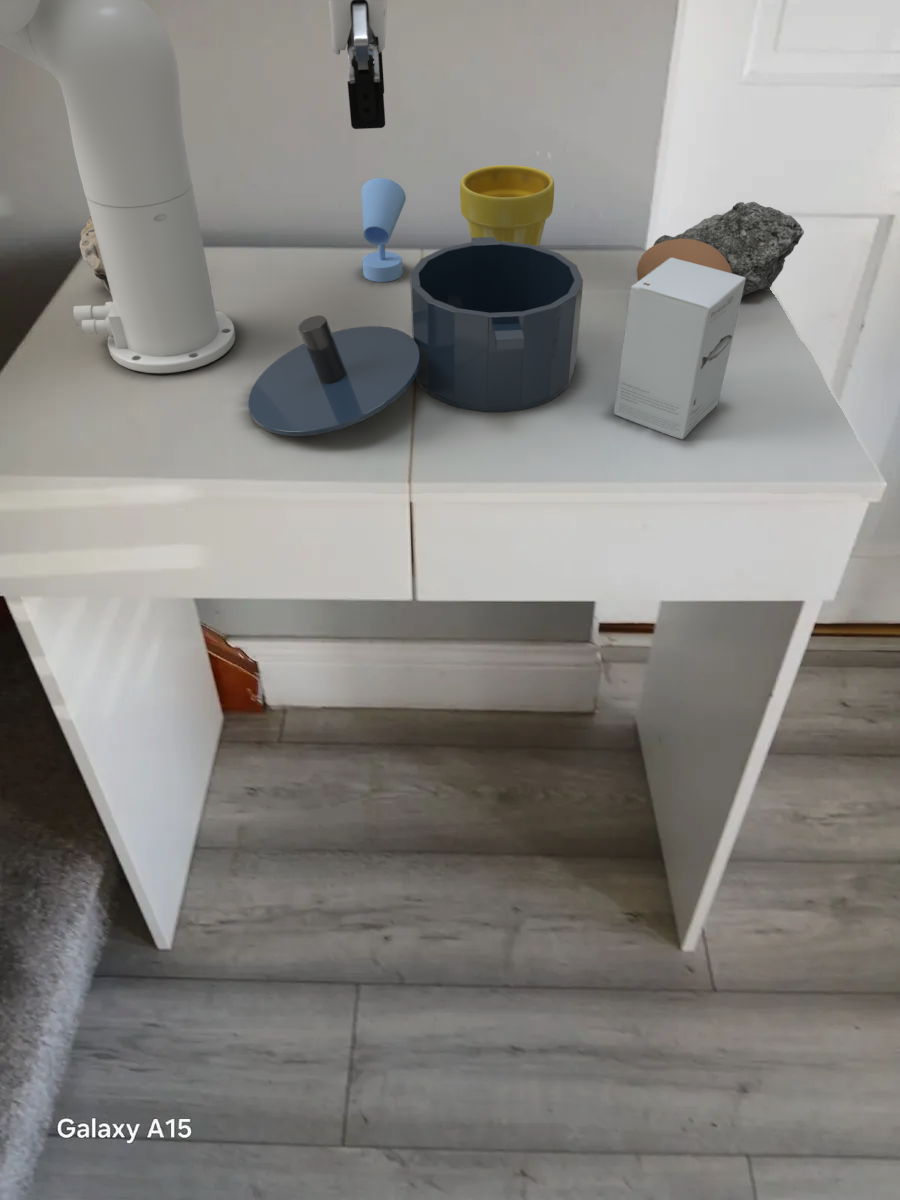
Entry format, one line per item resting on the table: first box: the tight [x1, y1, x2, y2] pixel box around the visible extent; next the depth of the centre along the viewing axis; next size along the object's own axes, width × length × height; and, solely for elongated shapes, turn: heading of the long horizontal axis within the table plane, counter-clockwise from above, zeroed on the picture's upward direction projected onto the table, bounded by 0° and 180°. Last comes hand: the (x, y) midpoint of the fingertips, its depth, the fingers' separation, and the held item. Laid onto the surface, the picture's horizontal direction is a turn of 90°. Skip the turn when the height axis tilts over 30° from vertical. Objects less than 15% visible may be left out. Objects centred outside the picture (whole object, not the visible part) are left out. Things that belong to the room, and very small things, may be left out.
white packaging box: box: [612, 258, 746, 440], centre depth 84 cm, size 7×7×13 cm
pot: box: [409, 237, 584, 413], centre depth 91 cm, size 16×21×10 cm
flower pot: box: [459, 164, 555, 247], centre depth 108 cm, size 10×10×10 cm
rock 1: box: [79, 215, 111, 294], centre depth 107 cm, size 9×7×10 cm
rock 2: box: [652, 201, 805, 297], centre depth 107 cm, size 13×13×10 cm
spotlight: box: [361, 177, 407, 283], centre depth 107 cm, size 5×10×7 cm
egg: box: [636, 238, 732, 282], centre depth 101 cm, size 8×8×11 cm
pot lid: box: [247, 315, 421, 437], centre depth 87 cm, size 17×17×7 cm
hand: (368, 110), depth 94 cm, fingers open, 9 cm apart
